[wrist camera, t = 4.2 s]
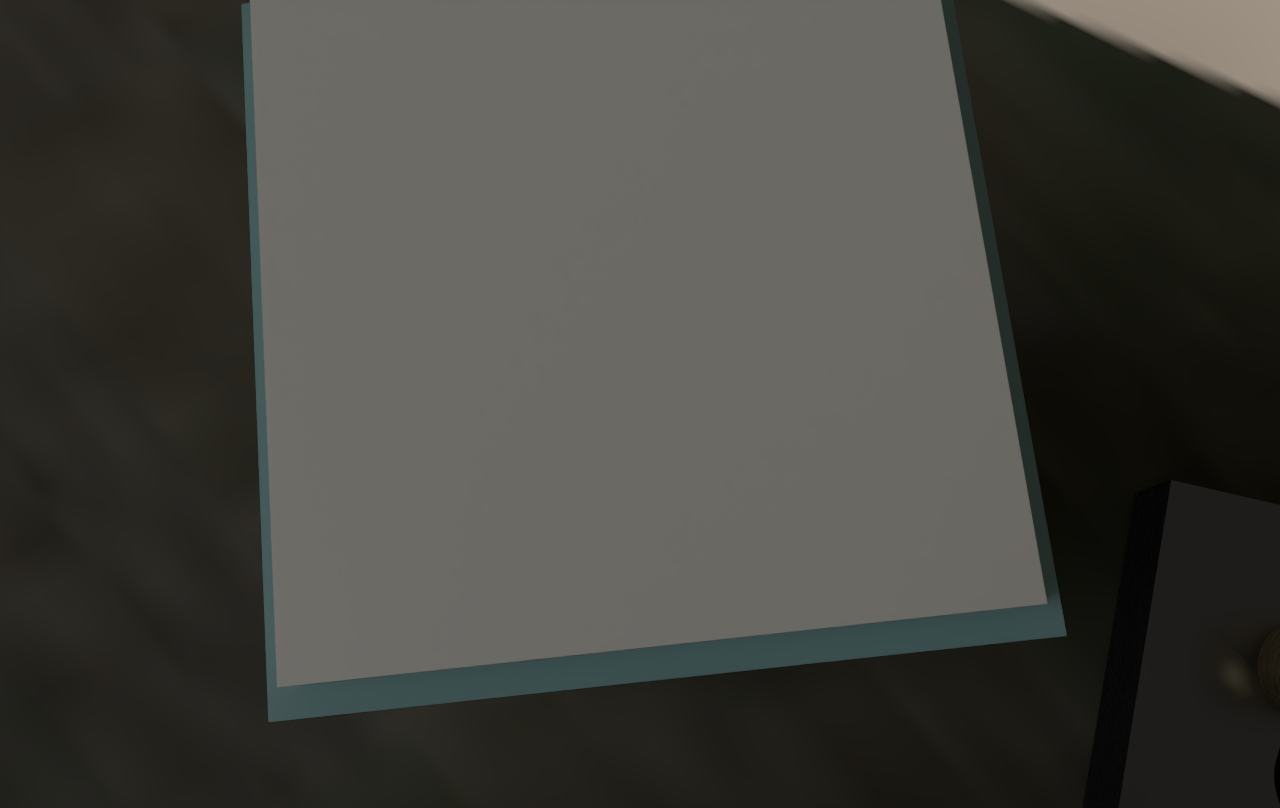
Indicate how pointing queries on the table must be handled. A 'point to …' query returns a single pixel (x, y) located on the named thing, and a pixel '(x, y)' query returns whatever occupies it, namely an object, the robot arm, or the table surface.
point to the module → (625, 347)
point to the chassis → (1192, 657)
